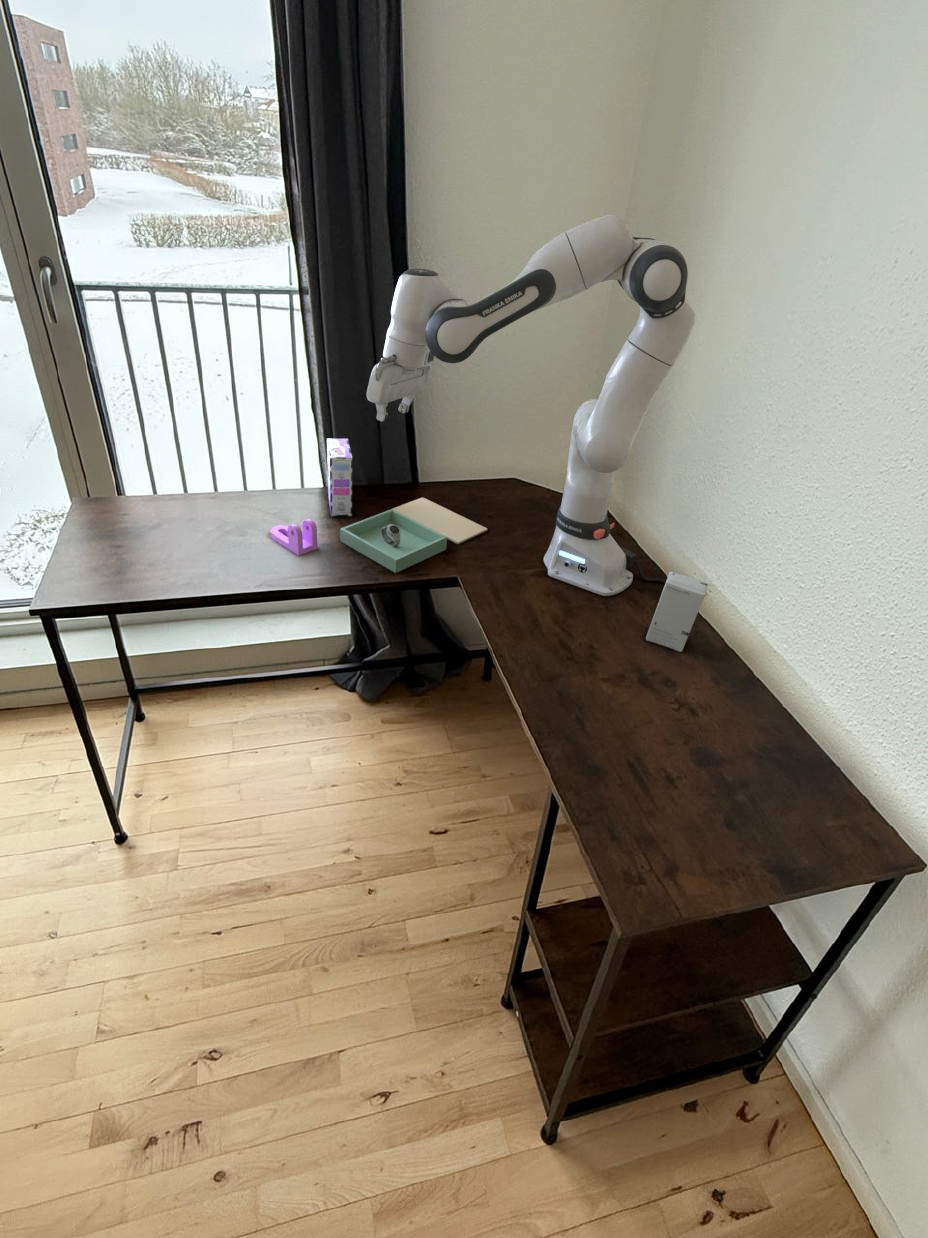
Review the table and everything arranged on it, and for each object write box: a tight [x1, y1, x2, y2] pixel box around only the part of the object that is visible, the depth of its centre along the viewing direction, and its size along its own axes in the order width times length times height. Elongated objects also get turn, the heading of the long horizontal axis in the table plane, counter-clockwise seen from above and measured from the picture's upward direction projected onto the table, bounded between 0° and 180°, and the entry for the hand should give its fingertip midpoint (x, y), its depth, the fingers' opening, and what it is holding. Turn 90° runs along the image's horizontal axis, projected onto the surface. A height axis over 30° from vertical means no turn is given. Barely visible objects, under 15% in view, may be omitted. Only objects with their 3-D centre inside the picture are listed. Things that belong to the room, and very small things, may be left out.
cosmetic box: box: [645, 571, 709, 653], centre depth 140 cm, size 8×6×15 cm
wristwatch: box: [381, 524, 400, 547], centre depth 165 cm, size 4×6×5 cm, turn 42°
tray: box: [339, 508, 448, 574], centre depth 165 cm, size 20×18×4 cm
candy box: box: [326, 437, 353, 517], centre depth 177 cm, size 14×6×16 cm, turn 12°
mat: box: [392, 497, 489, 545], centre depth 180 cm, size 24×12×1 cm, turn 49°
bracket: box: [270, 518, 318, 556], centre depth 161 cm, size 13×6×7 cm, turn 48°
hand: (392, 415), depth 148 cm, fingers open, 8 cm apart
